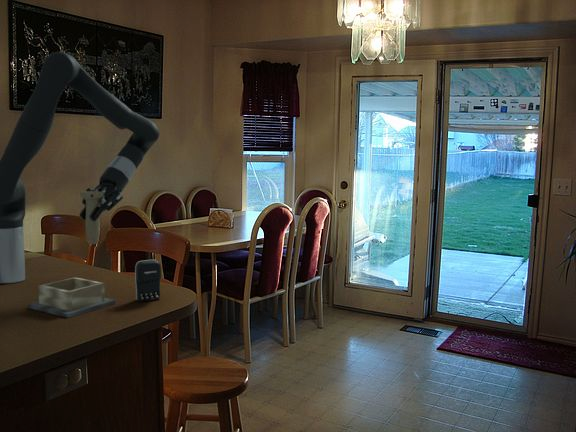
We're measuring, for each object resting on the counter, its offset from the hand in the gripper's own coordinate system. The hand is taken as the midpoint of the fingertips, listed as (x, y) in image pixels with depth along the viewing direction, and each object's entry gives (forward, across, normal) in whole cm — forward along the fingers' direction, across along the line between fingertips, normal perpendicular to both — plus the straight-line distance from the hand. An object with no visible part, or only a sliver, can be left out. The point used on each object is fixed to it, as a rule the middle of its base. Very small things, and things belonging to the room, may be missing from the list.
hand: (87, 218), depth 173 cm
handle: (+4, 0, +7) cm, 8 cm away
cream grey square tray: (+23, +5, +9) cm, 25 cm away
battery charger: (+12, +18, +20) cm, 30 cm away
